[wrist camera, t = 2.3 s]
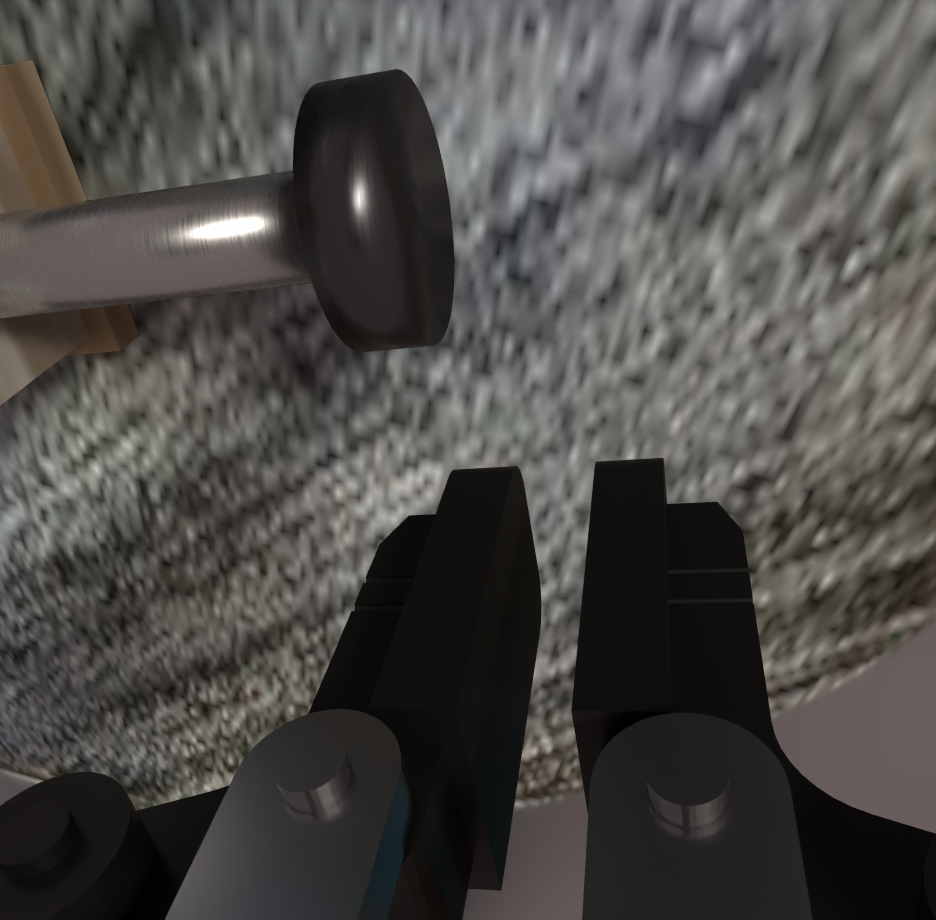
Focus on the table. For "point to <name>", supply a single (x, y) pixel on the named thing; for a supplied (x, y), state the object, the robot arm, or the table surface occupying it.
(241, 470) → the table surface
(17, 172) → the block
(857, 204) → the table surface
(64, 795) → the robot arm
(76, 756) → the table surface
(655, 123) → the table surface
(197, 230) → the shaft
